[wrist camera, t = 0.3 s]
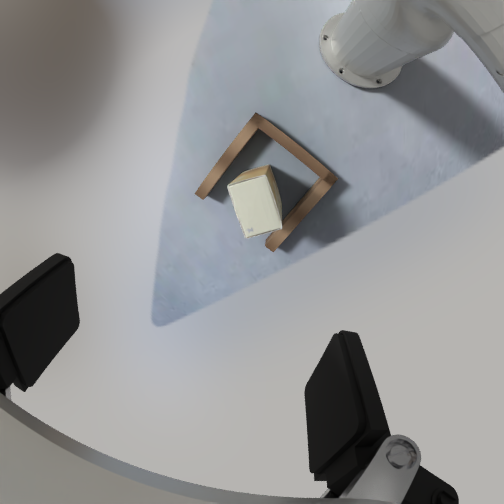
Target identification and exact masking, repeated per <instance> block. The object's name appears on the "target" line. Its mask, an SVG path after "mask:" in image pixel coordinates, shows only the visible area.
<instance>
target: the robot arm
mask: <svg viewBox="0 0 504 504" xmlns="http://www.w3.org/2000/svg"><path fill="white" fill-rule="evenodd" d="M454 32H455V33H456V34H457V35H458V36H459V37H460V38H462V39H463V40H464V42H465V43H466V44H467V45H468V46H469V47H470V49H471V50H472V51H473V52H474V53H475V55H476V56H477V57H478V58H479V60H480V61H481V62H482V64H483V65H484V66H485V67H486V69H487V70H488V71H489V73H490V74H491V76H492V77H493V78H494V80H495V81H496V83H497V84H498V86H499V87H500V89H501V90H502V91H503V93H504V0H352V1H351V3H350V5H349V6H348V8H347V10H346V11H345V12H344V13H340V14H338V15H335V16H333V17H332V18H331V19H329V20H328V21H327V22H326V24H325V25H324V26H323V28H322V30H321V34H320V37H319V46H320V52H321V54H322V57H323V59H324V61H325V63H326V64H327V66H328V67H329V68H330V69H331V70H332V72H333V73H335V74H336V75H337V76H338V77H339V78H341V79H342V80H344V81H345V82H347V83H350V84H352V85H354V86H358V87H361V88H378V87H382V86H385V85H387V84H389V83H391V82H392V81H394V80H395V79H396V78H397V76H398V75H399V73H400V71H401V69H402V66H403V65H404V64H407V63H409V62H411V61H413V60H416V59H418V58H420V57H423V56H425V55H427V54H430V53H432V52H435V51H437V50H439V49H441V48H442V47H444V46H445V45H446V44H447V43H448V42H449V40H450V39H451V37H452V35H453V33H454ZM324 38H325V39H326V40H324ZM339 71H342V74H341V73H340V72H339ZM376 81H378V84H377V82H376ZM79 323H80V320H79V312H78V304H77V295H76V285H75V272H74V264H73V263H72V261H71V259H70V258H69V257H67V256H64V255H62V254H59V253H56V254H54V255H52V256H51V257H50V258H48V259H47V260H45V261H44V262H43V263H41V264H40V265H38V266H37V267H35V268H34V269H33V270H31V271H30V272H29V273H27V274H26V275H25V276H23V277H22V278H21V279H19V280H18V281H17V282H15V283H14V284H13V285H12V286H10V287H9V288H8V289H6V290H5V291H4V292H3V293H2V294H0V504H459V499H458V495H457V493H456V491H455V489H454V488H453V487H452V486H450V485H449V484H447V483H446V482H444V481H443V480H441V479H439V478H438V477H437V476H435V475H434V474H432V473H430V472H429V471H428V470H426V469H424V468H423V467H422V466H420V462H421V453H420V451H419V448H418V446H417V445H416V443H415V442H414V441H412V440H411V439H410V438H408V437H406V436H403V435H392V436H391V434H390V431H389V427H388V424H387V420H386V417H385V413H384V410H383V406H382V403H381V400H380V397H379V393H378V390H377V387H376V384H375V381H374V378H373V375H372V372H371V369H370V366H369V363H368V360H367V357H366V354H365V351H364V349H363V346H362V343H361V340H360V337H359V335H358V334H357V333H355V332H349V331H344V330H342V331H340V332H339V333H338V334H337V333H336V334H334V335H333V337H332V339H331V341H330V343H329V344H328V346H327V348H326V350H325V352H324V354H323V356H322V358H321V359H320V361H319V363H318V365H317V367H316V368H315V370H314V372H313V374H312V376H311V377H310V379H309V381H308V382H307V384H306V387H305V405H306V418H307V419H306V420H307V434H308V451H309V469H310V472H311V473H314V481H327V488H328V489H327V491H325V493H324V494H323V495H322V496H321V497H320V498H293V497H278V496H267V495H256V494H248V493H240V492H234V491H227V490H222V489H216V488H211V487H206V486H202V485H197V484H193V483H189V482H185V481H181V480H177V479H173V478H170V477H167V476H163V475H160V474H157V473H153V472H150V471H147V470H144V469H142V468H138V467H136V466H133V465H130V464H128V463H125V462H123V461H120V460H117V459H115V458H113V457H110V456H108V455H106V454H103V453H101V452H99V451H97V450H94V449H92V448H90V447H88V446H86V445H84V444H82V443H80V442H78V441H76V440H74V439H72V438H70V437H68V436H66V435H64V434H63V433H61V432H59V431H57V430H55V429H54V428H52V427H50V426H49V425H47V424H45V423H44V422H42V421H40V420H39V419H37V418H36V417H34V416H32V415H31V414H29V413H28V412H26V411H25V410H23V409H22V408H20V407H19V406H18V405H16V404H15V403H13V402H12V401H11V392H10V385H11V384H12V383H14V385H15V386H16V387H18V388H19V389H21V390H22V391H24V392H25V391H26V390H27V388H28V387H31V386H33V385H34V383H35V382H36V381H37V379H38V378H39V377H40V375H41V374H42V373H43V371H44V370H45V369H46V368H47V366H48V365H49V364H50V362H51V361H52V360H53V359H54V357H55V356H56V355H57V353H58V352H59V351H60V350H61V349H62V347H63V346H64V345H65V343H66V342H67V341H68V340H69V339H70V338H71V336H72V335H73V334H74V333H75V332H76V330H77V329H78V327H79Z"/></svg>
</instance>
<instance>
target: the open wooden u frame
mask: <svg viewBox="0 0 504 504" xmlns="http://www.w3.org/2000/svg"><path fill="white" fill-rule="evenodd" d="M258 129H260V130H262V131H263V132H264V133H266V134H267V135H268V136H270V137H271V138H272V139H274V140H275V141H276V142H278V143H279V144H280V145H281V146H283V147H284V148H285V149H286V150H288V151H289V152H290V153H292V154H293V155H294V156H295V157H296V158H298V159H299V160H300V161H301V162H303V163H304V164H305V165H306V166H307V167H309V168H310V169H311V170H312V171H313V172H315V173H316V174H317V175H318V176H319V177H320V178H319V179H318V180H317V181H316V182H315V184H314V185H313V186H312V187H311V188H310V189H309V190H308V192H307V193H306V194H305V195H304V196H303V197H302V199H301V200H300V201H299V202H298V203H297V204H296V206H295V207H294V208H293V209H292V210H291V211H290V213H289V214H288V215H287V216H286V217H285V218H284V219H283V221H282V229H280V230H276V231H273V232H272V233H271V235H270V236H269V237H268V238H267V239H266V243H265V246H266V247H267V248H268V249H270V250H271V251H272V252H274V251H275V250H276V249H277V248H278V246H279V245H280V244H281V243H282V242H283V241H284V240H285V239H286V238H287V236H288V235H289V234H290V233H291V232H292V231H293V230H294V229H295V227H296V226H297V225H298V224H299V223H300V222H301V221H302V219H303V218H304V217H305V216H306V215H307V214H308V213H309V212H310V210H311V209H312V208H313V207H314V206H315V205H316V204H317V202H318V201H319V200H320V199H321V198H322V197H323V196H324V194H325V193H326V192H327V191H328V190H329V189H330V188H331V186H332V185H333V184H334V183H335V182H336V181H337V180H338V178H337V177H336V176H335V175H334V174H332V173H331V172H330V171H329V170H328V169H327V168H326V167H324V166H323V165H322V164H321V163H320V162H319V161H317V160H316V159H315V158H314V157H313V156H311V155H310V154H309V153H308V152H307V151H305V150H304V149H303V148H302V147H301V146H299V145H298V144H297V143H296V142H294V141H293V140H292V139H291V138H289V137H288V136H287V135H285V134H284V133H283V132H282V131H280V130H279V129H278V128H276V127H275V126H274V125H272V124H271V123H270V122H268V121H267V120H266V119H264V118H263V117H262V116H260V115H259V114H258V113H255V114H254V115H253V117H252V118H251V119H250V120H249V121H248V123H247V124H246V125H245V127H244V128H243V129H242V130H241V132H240V133H239V134H238V135H237V137H236V138H235V139H234V141H233V142H232V143H231V144H230V146H229V147H228V148H227V150H226V151H225V152H224V154H223V155H222V156H221V158H220V159H219V160H218V162H217V163H216V164H215V166H214V167H213V169H212V170H211V171H210V173H209V174H208V175H207V177H206V178H205V180H204V181H203V182H202V184H201V185H200V187H199V188H198V190H197V191H196V192H195V194H196V195H197V196H199V197H200V198H201V199H203V200H204V199H205V198H206V197H207V196H208V194H209V193H210V191H211V190H212V189H213V187H214V186H215V185H216V183H217V182H218V181H219V179H220V178H221V177H222V175H223V174H224V173H225V171H226V170H227V169H228V167H229V166H230V165H231V163H232V162H233V161H234V159H235V158H236V157H237V155H238V154H239V153H240V152H241V150H242V149H243V148H244V146H245V145H246V144H247V143H248V141H249V140H250V139H251V138H252V136H253V135H254V134H255V133H256V131H257V130H258Z"/></svg>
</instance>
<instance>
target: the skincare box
mask: <svg viewBox="0 0 504 504" xmlns="http://www.w3.org/2000/svg"><path fill="white" fill-rule="evenodd" d="M227 189H228V191H229V194H230V197H231V200H232V203H233V206H234V209H235V212H236V215H237V217H238V220H239V223H240V226H241V228H242V231H243V234H244V237H245V239H247V238H251V237H255V236H259V235H263V234H266V233H270V232H273V231H276V230H280V229H282V202H281V198H280V194H279V190H278V187H277V184H276V180H275V178H274V175H273V172H272V169H271V166H270V165H265V166H261V167H257V168H254V169H250V170H247V171H244V172H242V173H241V174H240V175H239V176H238V177H237V178H235V179H234V180H233V181H232V182H231V183H230V184H229V185H228V186H227Z"/></svg>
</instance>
